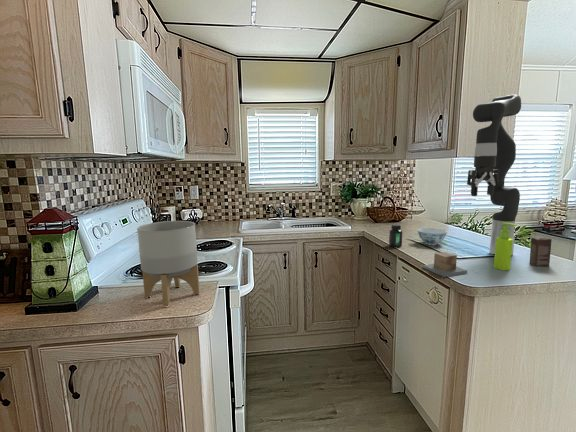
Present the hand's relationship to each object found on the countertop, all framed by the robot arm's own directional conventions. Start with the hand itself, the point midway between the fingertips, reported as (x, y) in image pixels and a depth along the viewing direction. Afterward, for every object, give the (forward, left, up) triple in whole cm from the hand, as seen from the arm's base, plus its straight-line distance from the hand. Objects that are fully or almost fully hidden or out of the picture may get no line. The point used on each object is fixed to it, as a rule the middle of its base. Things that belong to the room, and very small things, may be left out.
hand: (482, 195), depth 129 cm
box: (-32, +4, -32) cm, 46 cm away
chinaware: (-16, -43, -32) cm, 56 cm away
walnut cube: (+12, -5, -31) cm, 33 cm away
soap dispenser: (-13, +2, -32) cm, 35 cm away
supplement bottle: (+6, -46, -32) cm, 57 cm away
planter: (+122, -19, -32) cm, 128 cm away
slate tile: (+12, -5, -32) cm, 35 cm away
